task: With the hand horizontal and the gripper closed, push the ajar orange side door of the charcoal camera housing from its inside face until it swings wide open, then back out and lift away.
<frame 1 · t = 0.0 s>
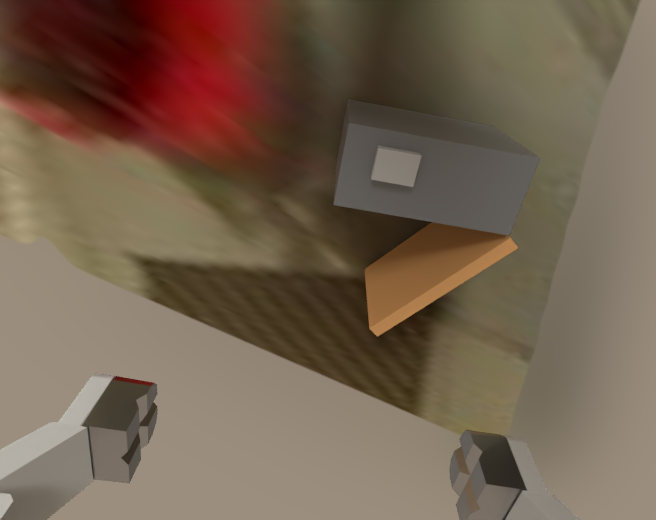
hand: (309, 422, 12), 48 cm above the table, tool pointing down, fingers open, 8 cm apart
side door: (431, 263, 54), point 8 cm above the table, hinge at 50.0°
camera housing: (412, 145, 56), on the table
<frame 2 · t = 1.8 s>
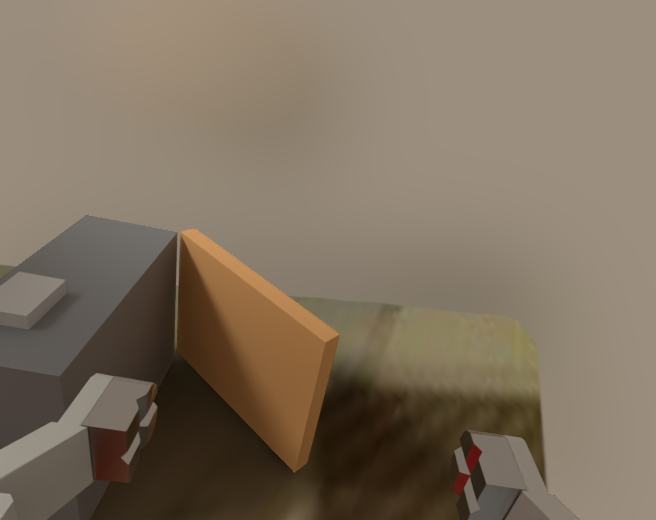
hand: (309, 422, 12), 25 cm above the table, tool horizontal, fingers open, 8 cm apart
side door: (247, 341, 39), point 8 cm above the table, hinge at 50.0°
camera housing: (91, 421, 38), on the table
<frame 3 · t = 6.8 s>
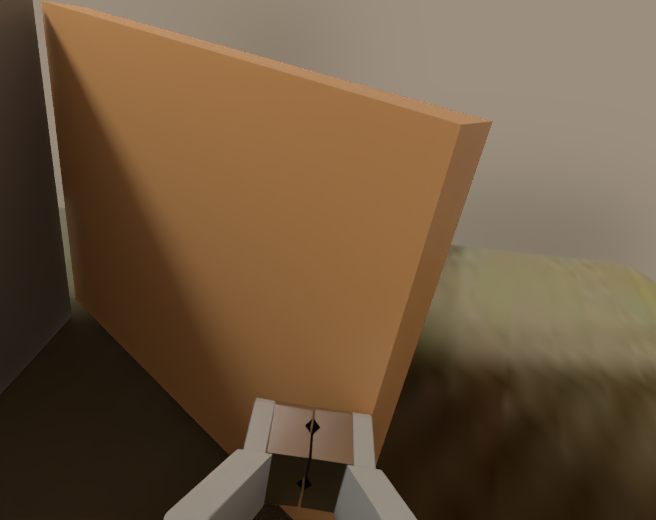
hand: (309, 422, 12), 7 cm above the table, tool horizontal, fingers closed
side door: (204, 246, 17), point 8 cm above the table, hinge at 51.0°, touching gripper
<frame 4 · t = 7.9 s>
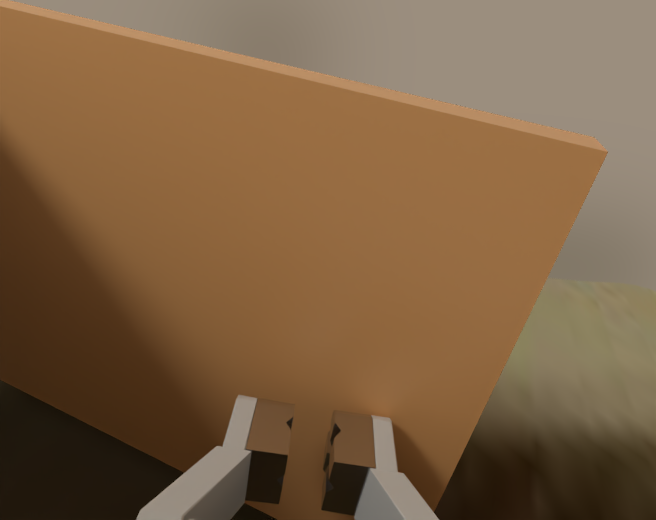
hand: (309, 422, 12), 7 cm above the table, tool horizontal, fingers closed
side door: (192, 287, 14), point 8 cm above the table, hinge at 69.7°, touching gripper
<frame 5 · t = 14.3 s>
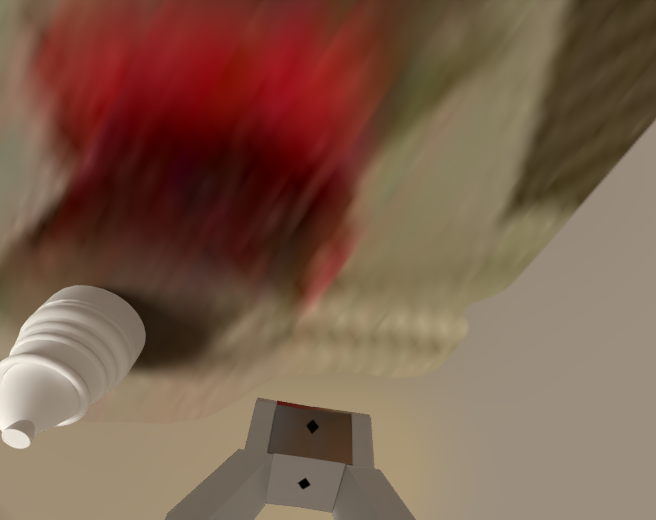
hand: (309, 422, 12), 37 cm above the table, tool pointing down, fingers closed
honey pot: (96, 327, 57), on the table
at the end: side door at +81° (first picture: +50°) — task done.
